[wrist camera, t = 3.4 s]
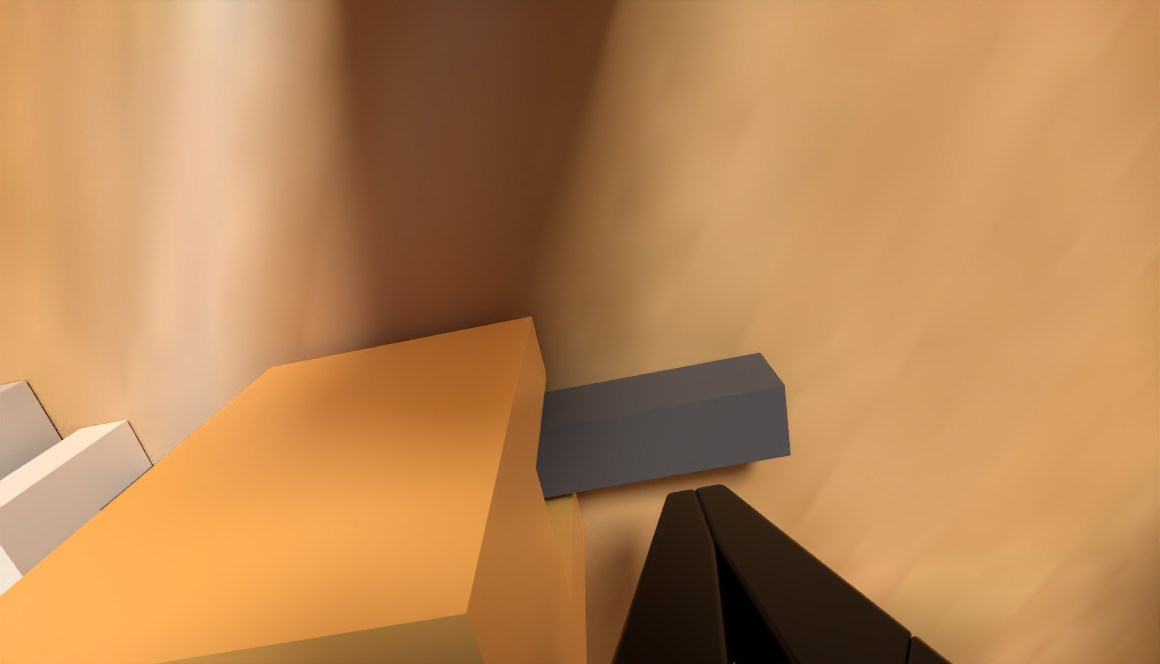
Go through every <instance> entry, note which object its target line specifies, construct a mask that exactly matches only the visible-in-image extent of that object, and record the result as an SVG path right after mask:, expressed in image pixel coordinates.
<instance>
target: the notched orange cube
mask: <svg viewBox="0 0 1160 664" xmlns="http://www.w3.org/2000/svg"><path fill="white" fill-rule="evenodd" d="M545 384H546V371H545V367H544V363H543V359H542V355H541V351H540V347H539V343H538V339H537V335H536V331H535V327H534V323H533V319H532V316H531V317H526V318H521V319H515V320H510V321H505V322H500V323H495V324H490V325H485V326H480V327H475V328H469V329H464V330H459V331H454V332H449V333H444V334H439V335H434V336H428V337H423V338H418V339H413V340H408V341H403V342H398V343H393V344H388V345H382V346H377V347H372V348H367V349H362V350H357V351H352V352H347V353H342V354H336V355H331V356H326V357H321V358H316V359H311V360H306V361H301V362H296V363H290V364H285V365H280V366H275V367H271V368H269V369H268V370H267V371H266V372H265V373H263V374H262V375H261V376H260V377H259V378H257V379H256V380H255V381H254V382H253V383H252V384H250V385H249V386H248V387H247V388H246V389H244V390H243V391H242V392H241V393H240V394H239V395H237V396H236V397H235V398H234V399H233V400H231V401H230V402H229V403H228V404H227V405H226V406H224V407H223V408H222V409H221V410H220V411H218V412H217V413H216V414H215V415H214V416H213V417H211V418H210V419H209V420H208V421H207V422H205V423H204V424H203V425H202V426H201V427H200V428H198V429H197V430H196V431H195V432H194V433H192V434H191V435H190V436H189V437H188V438H187V439H185V440H184V441H183V442H182V443H181V444H179V445H178V446H177V447H176V448H175V449H174V450H172V451H171V452H170V453H169V454H168V455H166V456H165V457H164V458H163V459H162V460H161V461H159V462H158V463H157V464H156V465H155V466H153V467H152V468H151V469H150V470H149V471H147V472H146V473H145V474H144V475H143V476H142V477H140V478H139V479H138V480H137V481H136V482H134V483H133V484H132V485H131V486H130V487H129V488H127V489H126V490H125V491H124V492H123V493H121V494H120V495H119V496H118V497H117V498H116V499H114V500H113V501H112V502H111V503H110V504H108V505H107V506H106V507H105V508H104V509H103V510H101V511H100V512H99V513H98V514H97V515H95V516H94V517H93V518H92V519H91V520H90V521H88V522H87V523H86V524H85V525H84V526H82V527H81V528H80V529H79V530H78V531H77V532H75V533H74V534H73V535H72V536H71V537H69V538H68V539H67V540H66V541H65V542H64V543H62V544H61V545H60V546H59V547H58V548H56V549H55V550H54V551H53V552H52V553H51V554H49V555H48V556H47V557H46V558H45V559H43V560H42V561H41V562H40V563H39V564H37V565H36V566H35V567H34V568H33V569H32V570H30V571H29V572H28V573H27V574H26V575H24V576H23V577H22V578H21V579H20V580H19V581H17V582H16V583H15V584H14V585H13V586H11V587H10V588H9V589H8V590H7V591H6V592H4V593H3V594H2V595H1V596H0V664H587V654H586V591H585V528H584V524H583V520H582V516H581V512H580V508H579V504H578V500H577V495H576V493H570V494H564V495H558V496H552V497H547V498H544V496H543V492H542V489H541V485H540V482H539V478H538V474H537V471H536V461H537V452H538V444H539V435H540V427H541V418H542V410H543V401H544V392H545Z"/></svg>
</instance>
